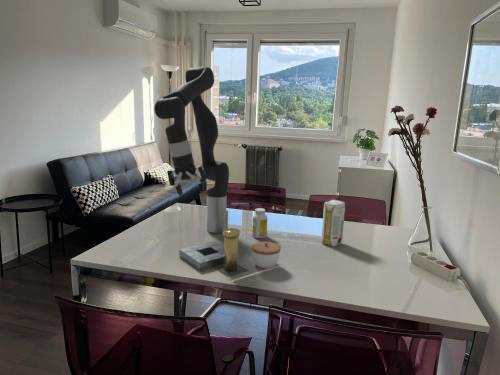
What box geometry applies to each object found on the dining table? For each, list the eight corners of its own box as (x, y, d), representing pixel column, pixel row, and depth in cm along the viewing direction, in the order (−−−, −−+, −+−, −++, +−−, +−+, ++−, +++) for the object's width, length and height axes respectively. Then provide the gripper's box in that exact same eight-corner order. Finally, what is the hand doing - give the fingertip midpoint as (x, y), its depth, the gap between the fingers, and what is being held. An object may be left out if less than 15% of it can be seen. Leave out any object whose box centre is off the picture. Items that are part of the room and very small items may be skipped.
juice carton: (343, 243, 168) (347, 202, 164) (333, 248, 162) (337, 205, 158) (329, 238, 173) (332, 198, 169) (318, 243, 167) (321, 202, 163)
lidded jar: (270, 274, 135) (271, 250, 133) (245, 267, 141) (246, 243, 139) (284, 264, 144) (285, 241, 142) (260, 258, 150) (261, 235, 148)
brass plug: (232, 264, 142) (233, 227, 138) (242, 269, 137) (243, 231, 134) (219, 267, 138) (219, 230, 135) (228, 273, 133) (229, 234, 130)
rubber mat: (233, 263, 144) (234, 261, 144) (248, 271, 137) (248, 270, 137) (213, 269, 138) (213, 267, 138) (227, 278, 131) (227, 276, 131)
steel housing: (214, 249, 157) (214, 241, 157) (236, 262, 145) (236, 253, 144) (179, 257, 148) (179, 249, 147) (200, 272, 135) (200, 263, 135)
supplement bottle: (268, 235, 177) (269, 208, 174) (264, 239, 170) (265, 212, 168) (254, 233, 179) (255, 206, 176) (250, 237, 173) (251, 210, 170)
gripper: (202, 147, 140) (211, 187, 146) (167, 152, 144) (177, 191, 149) (196, 153, 133) (206, 195, 139) (159, 158, 137) (170, 199, 142)
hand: (191, 193), depth 144 cm, fingers open, 8 cm apart
